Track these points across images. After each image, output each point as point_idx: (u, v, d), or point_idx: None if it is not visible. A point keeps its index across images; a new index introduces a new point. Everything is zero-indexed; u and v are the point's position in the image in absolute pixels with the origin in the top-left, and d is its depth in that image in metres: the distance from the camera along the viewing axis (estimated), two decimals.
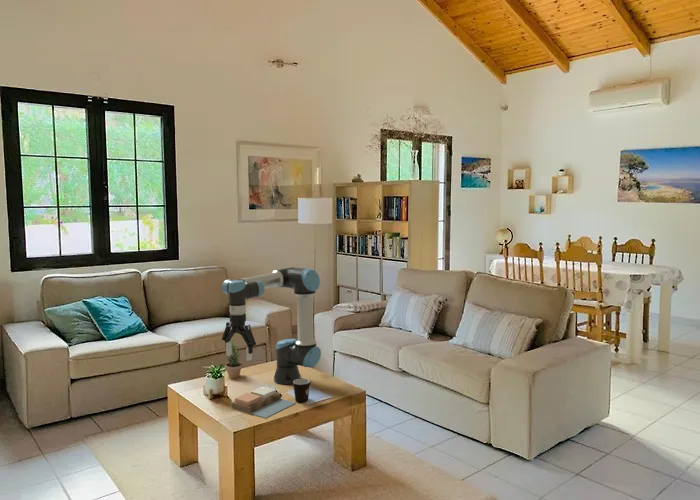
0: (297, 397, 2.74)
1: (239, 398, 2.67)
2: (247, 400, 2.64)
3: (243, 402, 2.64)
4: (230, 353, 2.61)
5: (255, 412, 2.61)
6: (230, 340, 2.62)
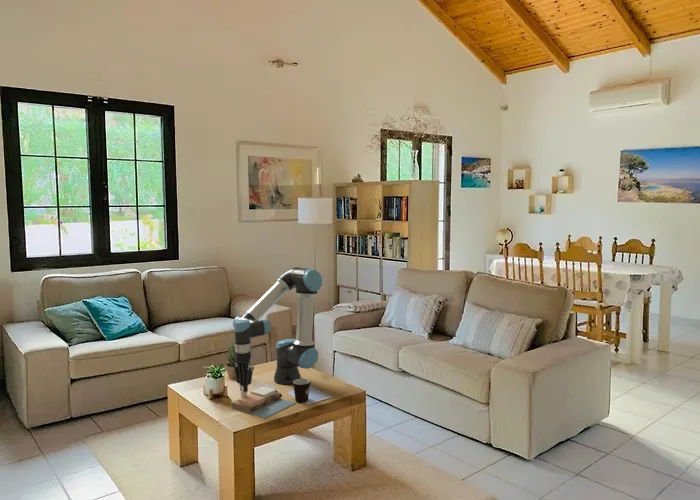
0: (297, 397, 2.74)
1: (243, 399, 2.65)
2: (251, 402, 2.62)
3: (247, 403, 2.62)
4: (245, 395, 2.70)
5: (255, 412, 2.61)
6: None
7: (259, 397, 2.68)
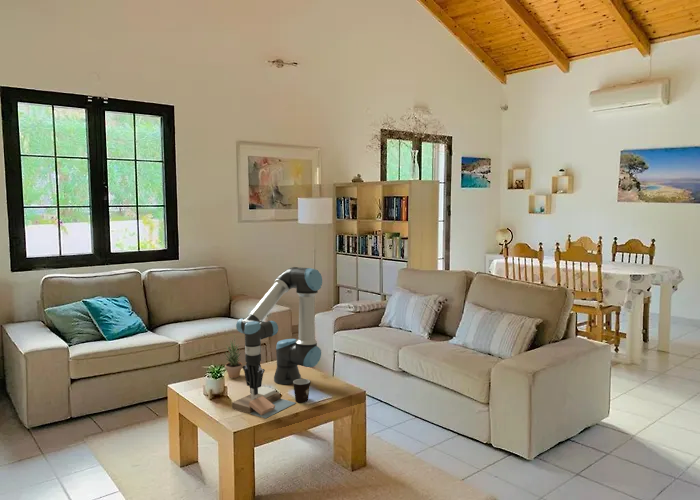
0: (297, 397, 2.74)
1: (253, 403, 2.61)
2: (261, 410, 2.58)
3: (257, 410, 2.59)
4: (255, 398, 2.66)
5: (255, 412, 2.61)
6: None
7: (270, 404, 2.64)
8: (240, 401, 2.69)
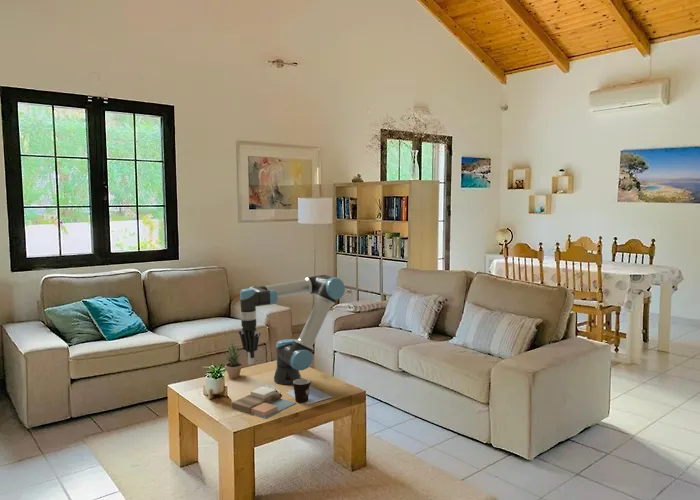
0: (297, 397, 2.74)
1: (255, 408, 2.61)
2: (264, 411, 2.58)
3: (259, 412, 2.58)
4: None
5: None
6: None
7: (272, 406, 2.64)
8: (240, 401, 2.69)
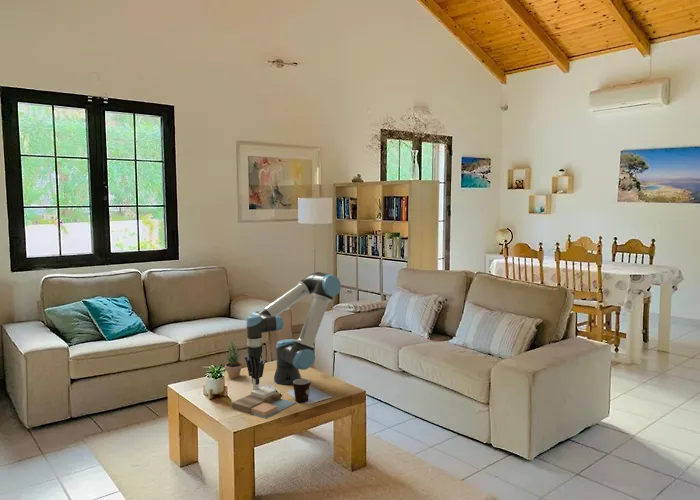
0: (297, 397, 2.74)
1: (255, 408, 2.61)
2: (264, 411, 2.58)
3: (259, 412, 2.58)
4: None
5: None
6: None
7: (272, 406, 2.64)
8: (240, 401, 2.69)
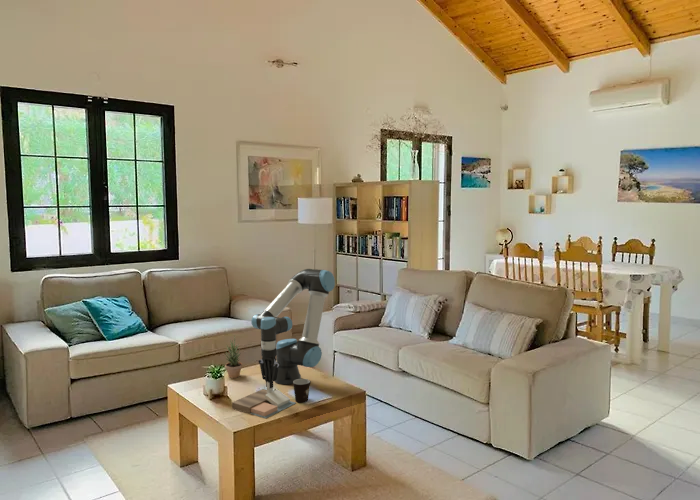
0: (297, 397, 2.74)
1: (255, 408, 2.61)
2: (264, 411, 2.58)
3: (259, 412, 2.58)
4: (270, 391, 2.75)
5: None
6: None
7: (272, 406, 2.64)
8: (240, 401, 2.69)
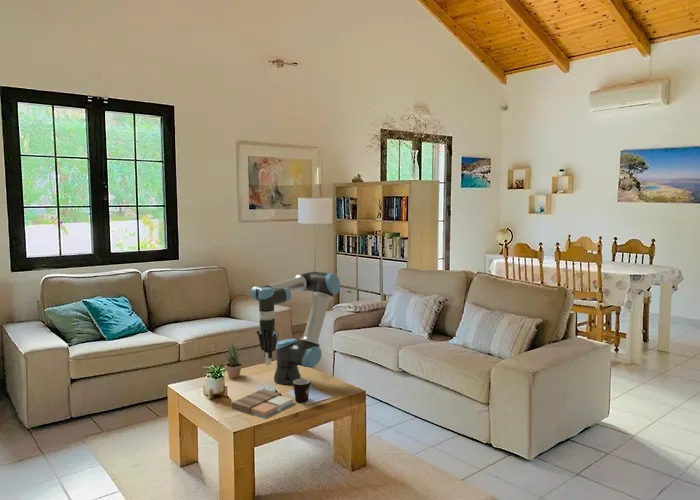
0: (297, 397, 2.74)
1: (255, 408, 2.61)
2: (264, 411, 2.58)
3: (259, 412, 2.58)
4: None
5: None
6: None
7: (272, 406, 2.64)
8: (240, 401, 2.69)
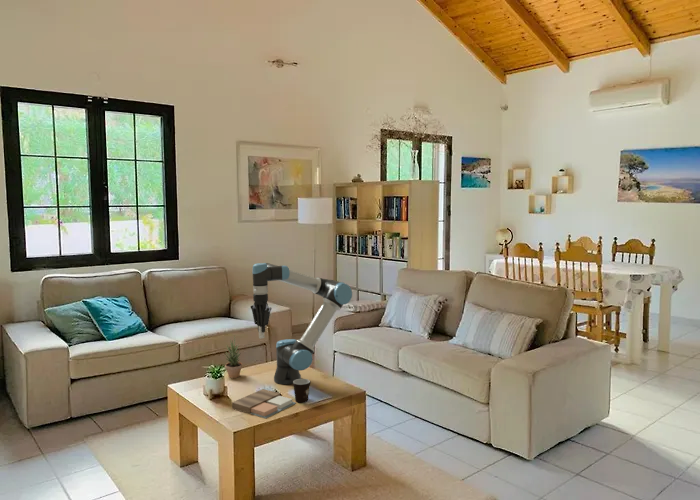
0: (297, 397, 2.74)
1: (255, 408, 2.61)
2: (264, 411, 2.58)
3: (259, 412, 2.58)
4: None
5: None
6: None
7: (272, 406, 2.64)
8: (240, 401, 2.69)
